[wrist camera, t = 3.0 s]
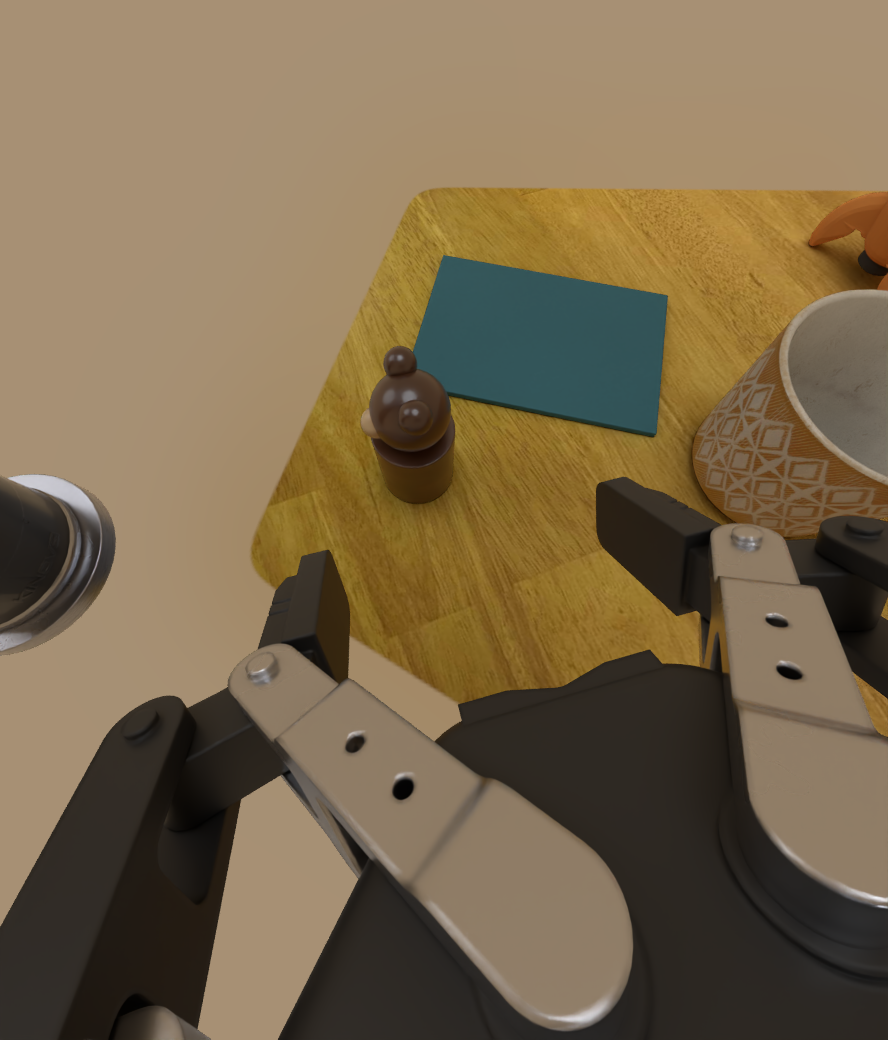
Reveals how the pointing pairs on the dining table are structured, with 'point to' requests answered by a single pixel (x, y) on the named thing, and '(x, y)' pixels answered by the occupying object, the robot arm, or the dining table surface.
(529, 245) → the dining table surface
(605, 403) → the mat
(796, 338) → the planter
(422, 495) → the toy teddy
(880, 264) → the toy rocket
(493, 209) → the dining table surface
